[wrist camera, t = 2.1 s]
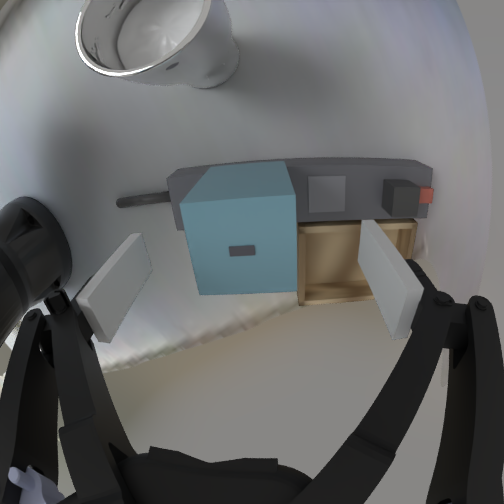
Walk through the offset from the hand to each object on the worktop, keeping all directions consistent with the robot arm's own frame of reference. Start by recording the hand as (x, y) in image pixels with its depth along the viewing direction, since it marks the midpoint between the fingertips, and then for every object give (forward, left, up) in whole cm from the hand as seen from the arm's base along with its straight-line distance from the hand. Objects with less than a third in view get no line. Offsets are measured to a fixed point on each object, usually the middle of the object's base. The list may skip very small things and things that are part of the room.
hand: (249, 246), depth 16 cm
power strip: (+1, 0, -12) cm, 12 cm away
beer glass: (-3, +13, -12) cm, 18 cm away
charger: (0, 0, -11) cm, 11 cm away
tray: (+10, -7, -12) cm, 17 cm away
